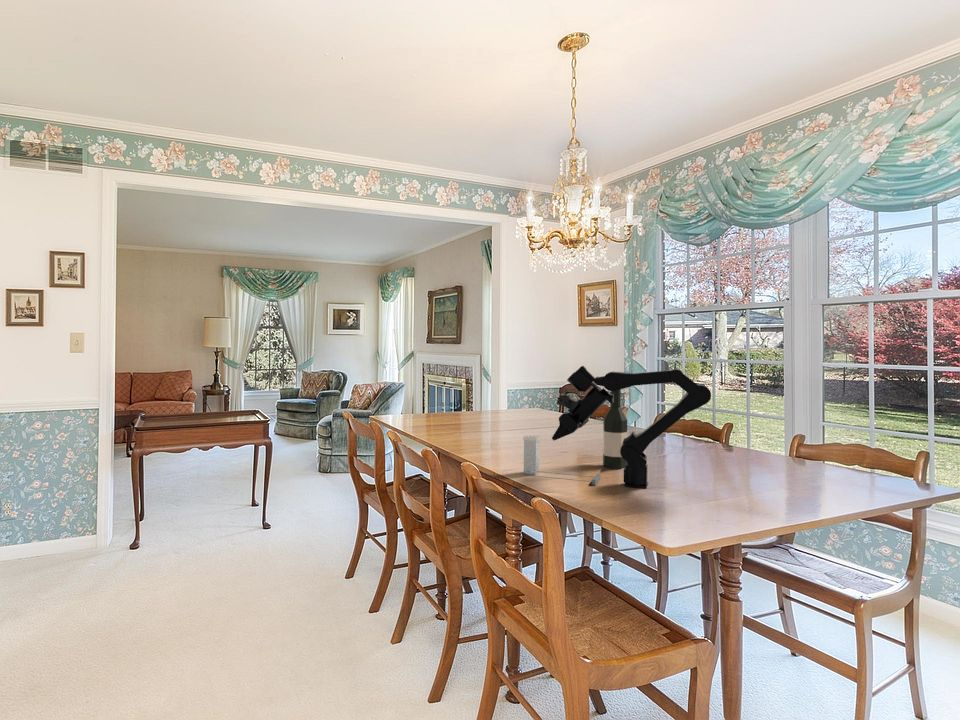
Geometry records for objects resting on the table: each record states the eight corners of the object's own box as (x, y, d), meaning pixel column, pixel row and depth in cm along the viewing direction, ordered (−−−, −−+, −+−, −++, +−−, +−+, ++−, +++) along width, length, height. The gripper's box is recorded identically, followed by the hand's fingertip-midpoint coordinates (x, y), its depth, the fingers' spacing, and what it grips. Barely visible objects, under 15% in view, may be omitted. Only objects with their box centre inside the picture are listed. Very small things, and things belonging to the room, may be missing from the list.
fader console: (600, 478, 177) (600, 473, 177) (595, 485, 169) (595, 479, 169) (530, 472, 186) (530, 467, 186) (522, 478, 178) (522, 472, 177)
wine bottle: (598, 464, 199) (599, 380, 198) (618, 463, 201) (620, 380, 200) (610, 469, 191) (611, 382, 190) (631, 468, 193) (633, 381, 192)
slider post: (539, 472, 182) (540, 435, 182) (536, 475, 178) (536, 437, 178) (526, 471, 184) (527, 434, 184) (522, 473, 180) (523, 436, 180)
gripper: (578, 383, 184) (546, 415, 188) (565, 386, 167) (530, 422, 171) (602, 407, 181) (569, 439, 186) (592, 413, 164) (556, 449, 168)
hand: (556, 437), depth 178 cm, fingers open, 9 cm apart
